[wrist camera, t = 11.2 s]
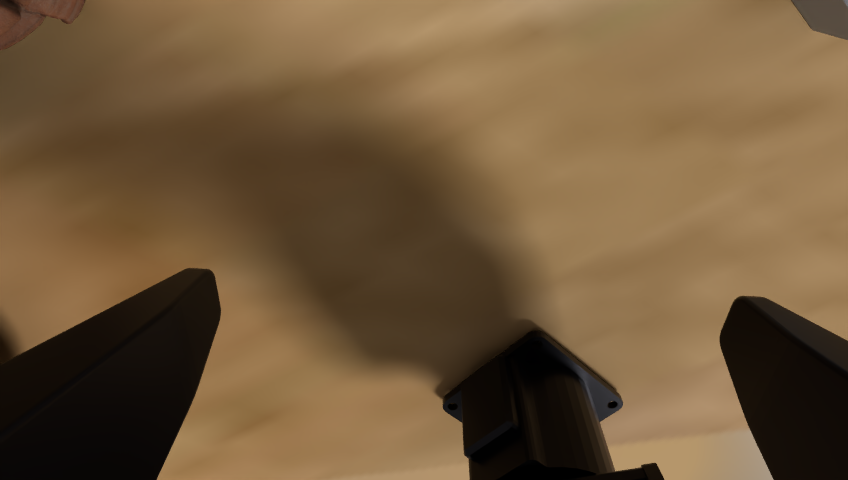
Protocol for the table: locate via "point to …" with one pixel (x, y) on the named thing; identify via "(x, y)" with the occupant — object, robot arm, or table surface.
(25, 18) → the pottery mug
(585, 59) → the table surface
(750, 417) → the robot arm
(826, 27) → the socket block
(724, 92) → the table surface
